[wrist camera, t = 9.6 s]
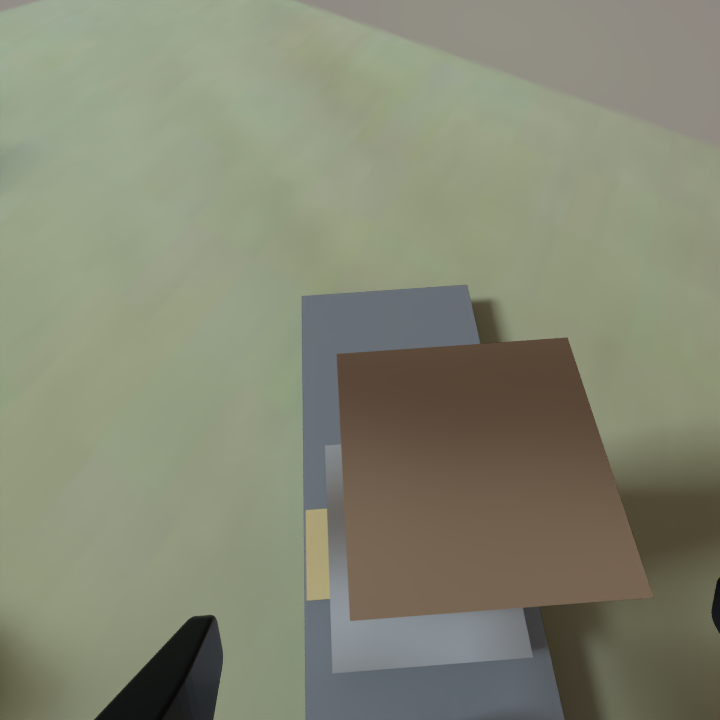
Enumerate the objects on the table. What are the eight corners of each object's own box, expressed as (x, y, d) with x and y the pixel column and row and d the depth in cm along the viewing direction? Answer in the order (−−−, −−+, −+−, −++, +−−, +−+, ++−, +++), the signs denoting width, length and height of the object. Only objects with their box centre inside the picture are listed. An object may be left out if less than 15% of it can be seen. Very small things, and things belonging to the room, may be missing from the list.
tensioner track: (560, 767, 15) (619, 817, 11) (312, 788, 15) (293, 845, 11) (461, 302, 23) (477, 249, 20) (305, 313, 23) (293, 261, 20)
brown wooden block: (521, 653, 15) (786, 736, 5) (335, 668, 15) (270, 778, 5) (479, 444, 18) (597, 266, 9) (327, 455, 18) (279, 287, 9)
